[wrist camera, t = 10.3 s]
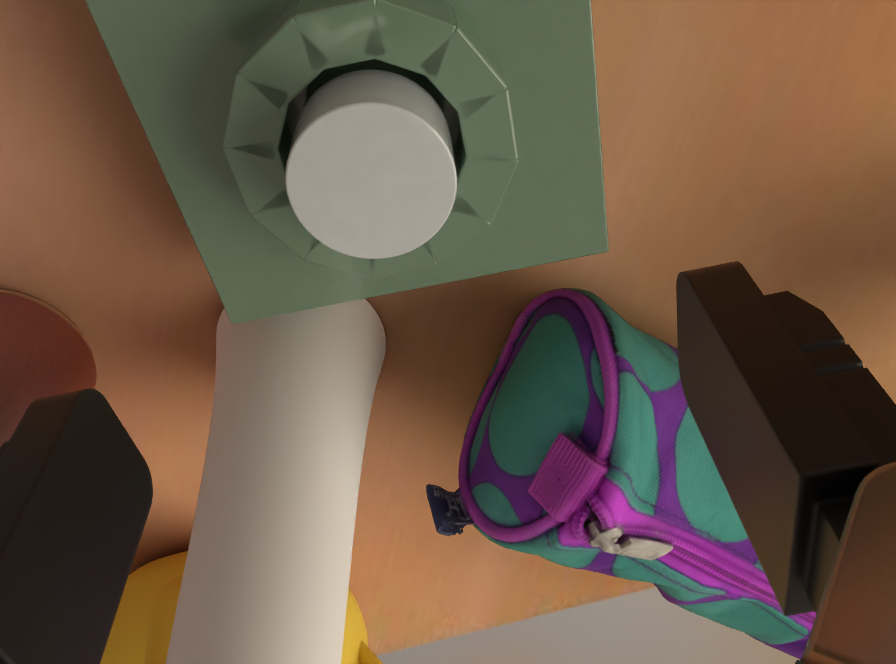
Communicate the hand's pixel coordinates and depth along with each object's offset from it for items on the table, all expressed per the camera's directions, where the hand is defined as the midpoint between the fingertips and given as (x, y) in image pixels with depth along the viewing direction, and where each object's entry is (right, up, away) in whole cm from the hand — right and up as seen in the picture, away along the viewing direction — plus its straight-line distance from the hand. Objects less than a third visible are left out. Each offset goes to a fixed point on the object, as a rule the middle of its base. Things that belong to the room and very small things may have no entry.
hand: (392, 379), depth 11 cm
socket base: (-1, +8, +12) cm, 14 cm away
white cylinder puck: (-1, +5, +7) cm, 9 cm away
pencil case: (+11, -3, +21) cm, 24 cm away
